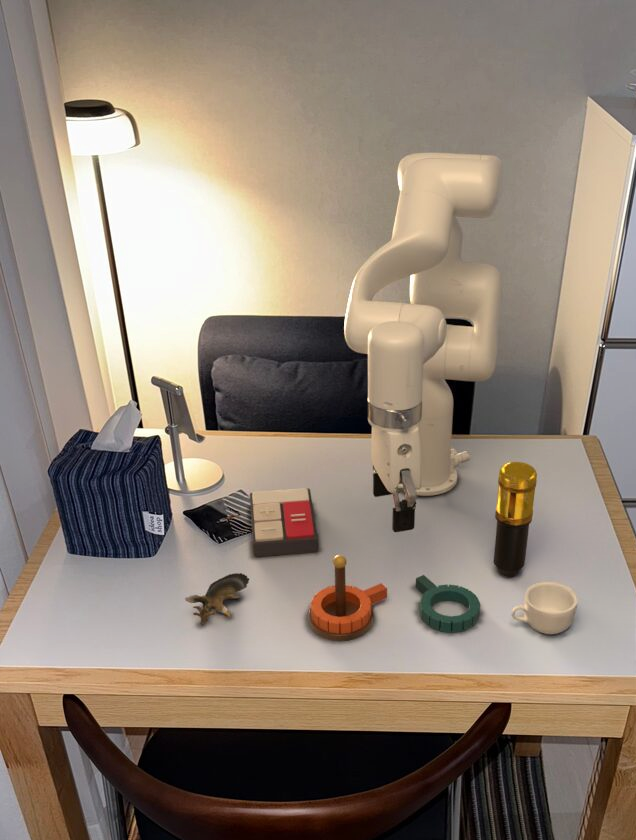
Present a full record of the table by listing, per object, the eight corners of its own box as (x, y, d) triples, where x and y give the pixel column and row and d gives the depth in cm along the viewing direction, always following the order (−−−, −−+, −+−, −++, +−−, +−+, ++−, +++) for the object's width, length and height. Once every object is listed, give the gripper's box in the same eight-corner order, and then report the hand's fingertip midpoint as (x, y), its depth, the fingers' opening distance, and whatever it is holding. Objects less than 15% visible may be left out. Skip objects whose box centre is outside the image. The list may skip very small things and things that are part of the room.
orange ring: (331, 641, 135) (330, 631, 134) (300, 607, 141) (300, 598, 140) (400, 611, 141) (400, 601, 140) (368, 580, 147) (368, 570, 146)
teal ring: (491, 618, 141) (492, 608, 140) (443, 640, 137) (444, 630, 136) (442, 576, 150) (442, 566, 149) (396, 595, 146) (396, 586, 145)
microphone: (571, 570, 151) (586, 467, 140) (499, 586, 148) (509, 482, 137) (554, 550, 156) (568, 449, 145) (484, 565, 152) (493, 463, 142)
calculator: (252, 540, 152) (249, 488, 164) (254, 560, 155) (250, 507, 167) (317, 535, 154) (309, 484, 166) (318, 554, 156) (310, 503, 168)
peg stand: (351, 590, 147) (350, 529, 140) (385, 625, 140) (386, 562, 133) (297, 613, 142) (293, 550, 136) (330, 650, 135) (328, 585, 129)
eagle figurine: (231, 631, 137) (260, 588, 143) (202, 598, 134) (232, 556, 140) (201, 636, 142) (230, 595, 148) (172, 604, 140) (203, 564, 145)
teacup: (562, 605, 143) (566, 578, 141) (581, 637, 137) (586, 610, 134) (501, 613, 142) (504, 586, 139) (518, 646, 135) (521, 619, 133)
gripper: (441, 435, 120) (436, 540, 130) (401, 380, 135) (399, 478, 144) (387, 443, 119) (386, 549, 128) (352, 387, 133) (353, 485, 142)
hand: (393, 511), depth 136 cm, fingers open, 9 cm apart
